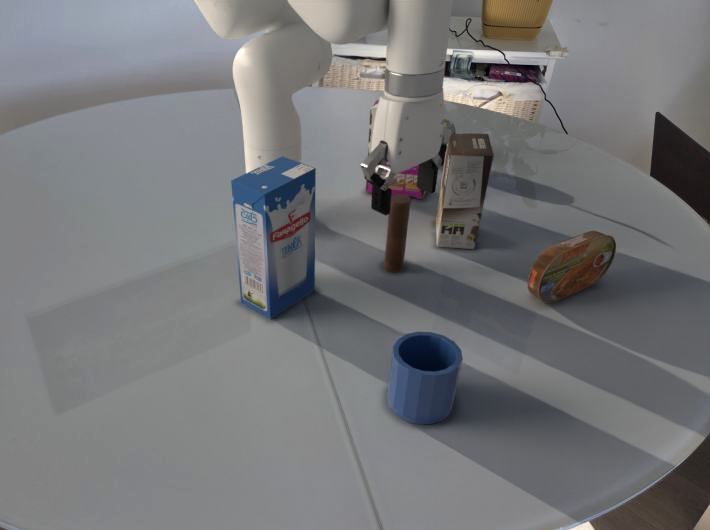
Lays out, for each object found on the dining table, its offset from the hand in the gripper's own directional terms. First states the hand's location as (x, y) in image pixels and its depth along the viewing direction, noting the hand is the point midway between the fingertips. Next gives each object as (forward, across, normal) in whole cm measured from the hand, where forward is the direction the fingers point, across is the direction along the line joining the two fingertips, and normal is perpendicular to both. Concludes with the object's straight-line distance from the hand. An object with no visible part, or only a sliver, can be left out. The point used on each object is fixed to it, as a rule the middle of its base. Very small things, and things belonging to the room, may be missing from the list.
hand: (403, 200), depth 94 cm
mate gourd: (+12, -35, -23) cm, 43 cm away
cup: (+12, +20, +22) cm, 32 cm away
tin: (+12, -14, +20) cm, 27 cm away
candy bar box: (+12, -20, -19) cm, 30 cm away
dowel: (+12, 0, -1) cm, 12 cm away
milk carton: (+12, +19, -7) cm, 24 cm away
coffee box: (+12, -15, -1) cm, 19 cm away
